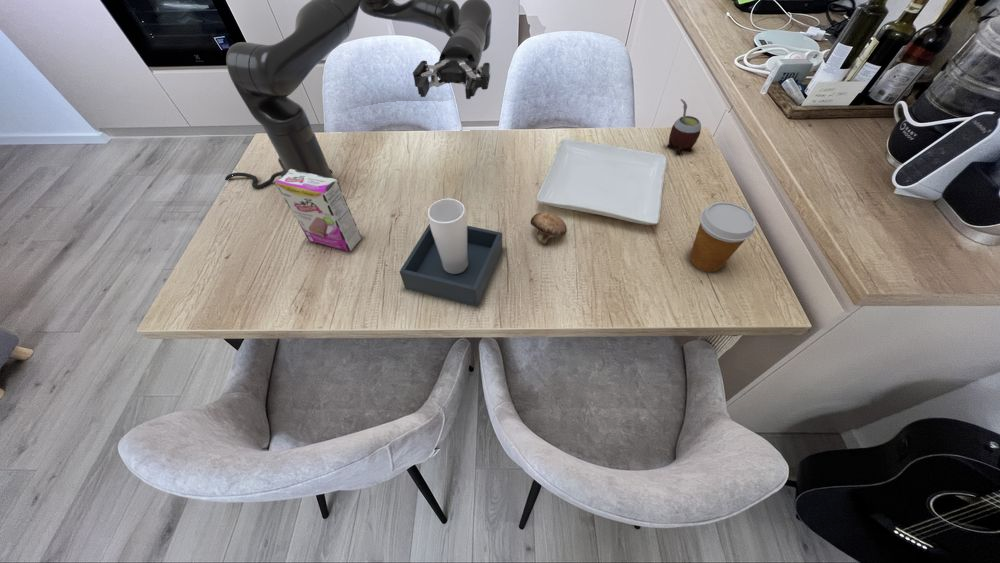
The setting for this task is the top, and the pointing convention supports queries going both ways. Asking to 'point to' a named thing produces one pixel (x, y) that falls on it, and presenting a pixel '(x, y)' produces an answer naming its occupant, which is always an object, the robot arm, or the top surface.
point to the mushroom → (548, 226)
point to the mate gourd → (684, 132)
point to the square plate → (605, 181)
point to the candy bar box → (320, 209)
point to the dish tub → (464, 287)
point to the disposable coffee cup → (720, 234)
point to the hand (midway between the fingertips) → (444, 93)
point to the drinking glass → (450, 234)
